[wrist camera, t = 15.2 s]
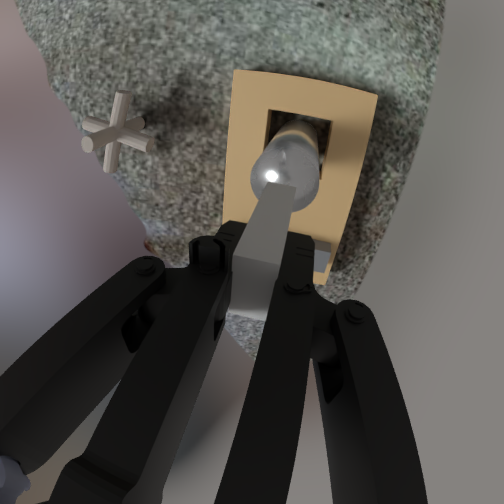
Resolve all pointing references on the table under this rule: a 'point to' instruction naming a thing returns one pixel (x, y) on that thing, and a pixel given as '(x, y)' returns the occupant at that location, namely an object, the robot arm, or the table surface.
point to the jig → (335, 158)
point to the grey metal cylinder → (290, 163)
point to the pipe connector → (116, 132)
